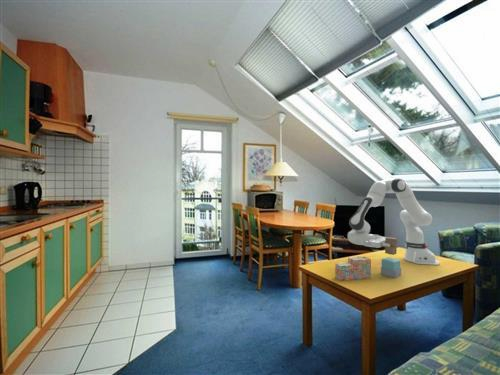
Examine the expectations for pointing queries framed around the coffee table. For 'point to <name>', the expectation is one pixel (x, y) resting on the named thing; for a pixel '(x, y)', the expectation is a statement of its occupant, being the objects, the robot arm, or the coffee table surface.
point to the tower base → (391, 272)
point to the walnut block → (393, 247)
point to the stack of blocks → (353, 269)
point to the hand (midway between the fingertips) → (392, 244)
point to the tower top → (390, 263)
